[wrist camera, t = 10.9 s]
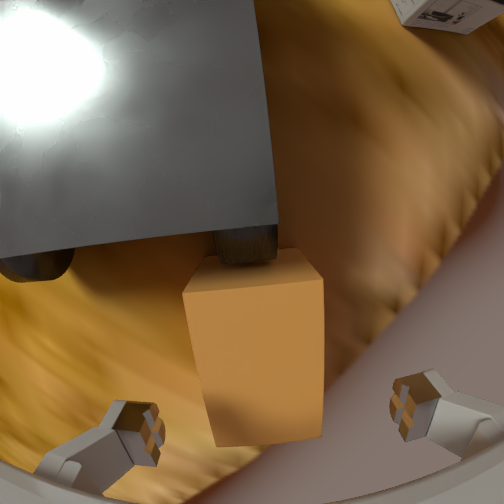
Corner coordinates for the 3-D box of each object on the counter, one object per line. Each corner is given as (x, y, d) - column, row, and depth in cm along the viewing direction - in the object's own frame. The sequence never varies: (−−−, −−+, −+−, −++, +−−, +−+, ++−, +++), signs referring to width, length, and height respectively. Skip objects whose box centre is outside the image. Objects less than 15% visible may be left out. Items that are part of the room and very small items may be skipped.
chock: (296, 247, 16) (323, 279, 11) (302, 371, 18) (321, 436, 12) (204, 256, 17) (182, 293, 11) (223, 379, 18) (216, 447, 12)
